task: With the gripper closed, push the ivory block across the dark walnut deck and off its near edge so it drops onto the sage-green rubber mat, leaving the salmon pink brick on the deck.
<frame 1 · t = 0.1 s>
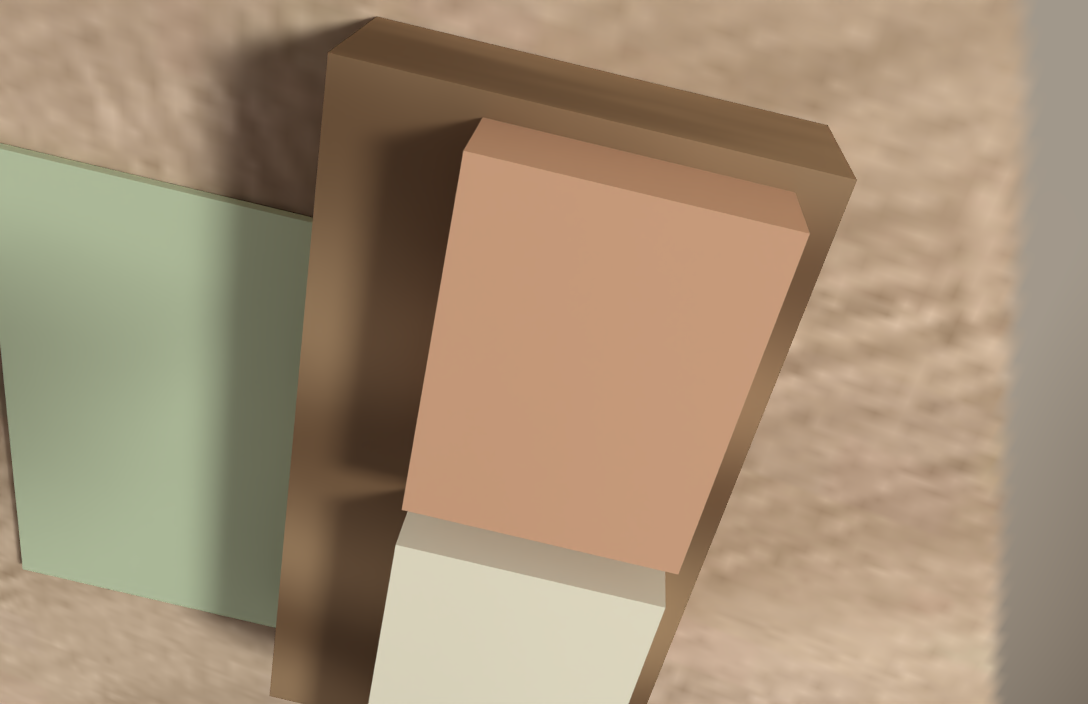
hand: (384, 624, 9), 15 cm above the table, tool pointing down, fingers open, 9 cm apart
deck: (522, 408, 25), on the table
mat: (169, 416, 26), on the table
salmon pink brick: (589, 336, 20), point 3 cm above the table, touching deck
ivory block: (508, 633, 24), point 3 cm above the table, touching deck
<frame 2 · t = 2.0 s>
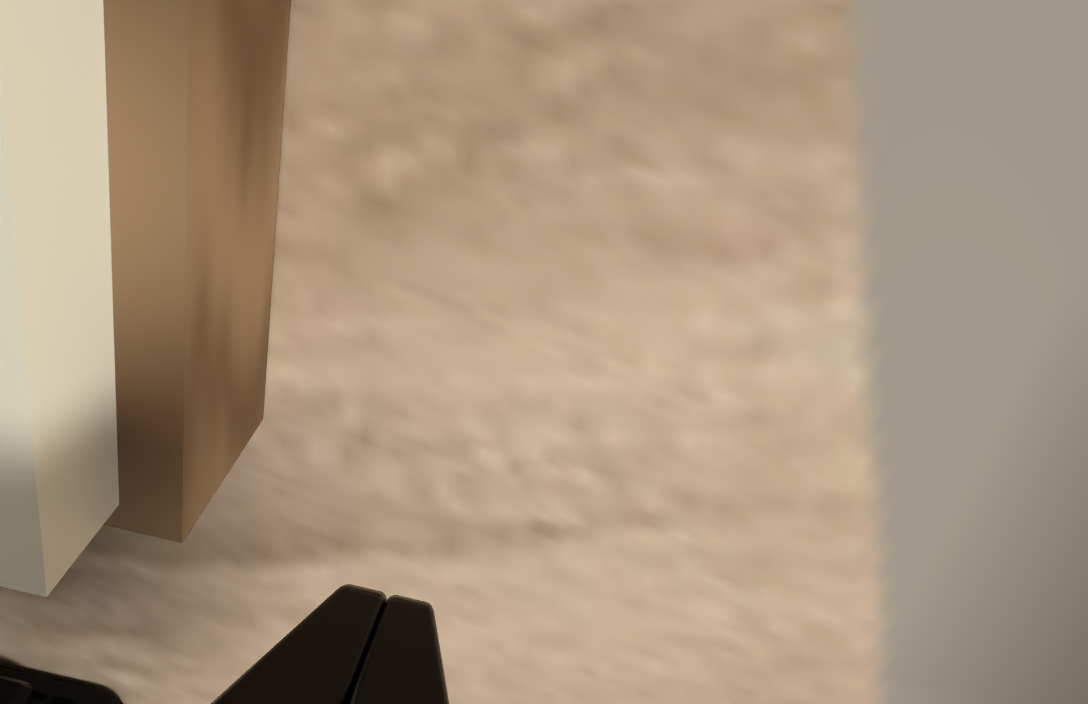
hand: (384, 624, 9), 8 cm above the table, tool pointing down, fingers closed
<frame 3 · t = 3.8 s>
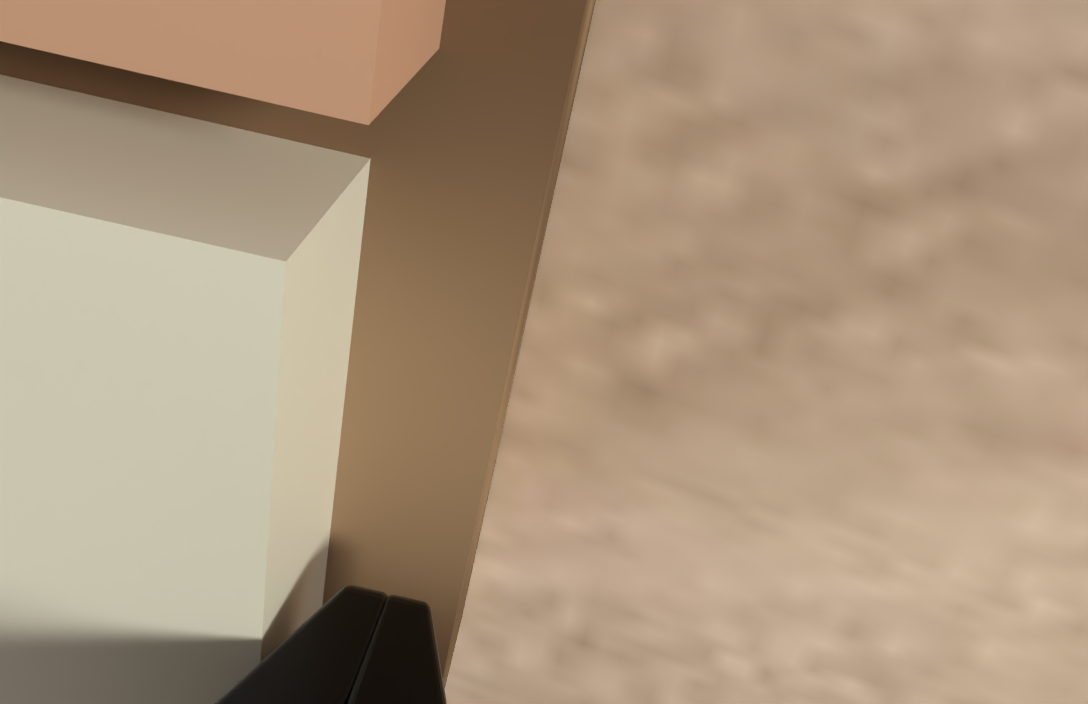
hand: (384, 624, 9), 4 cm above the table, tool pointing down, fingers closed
ivory block: (39, 467, 10), point 4 cm above the table, touching gripper
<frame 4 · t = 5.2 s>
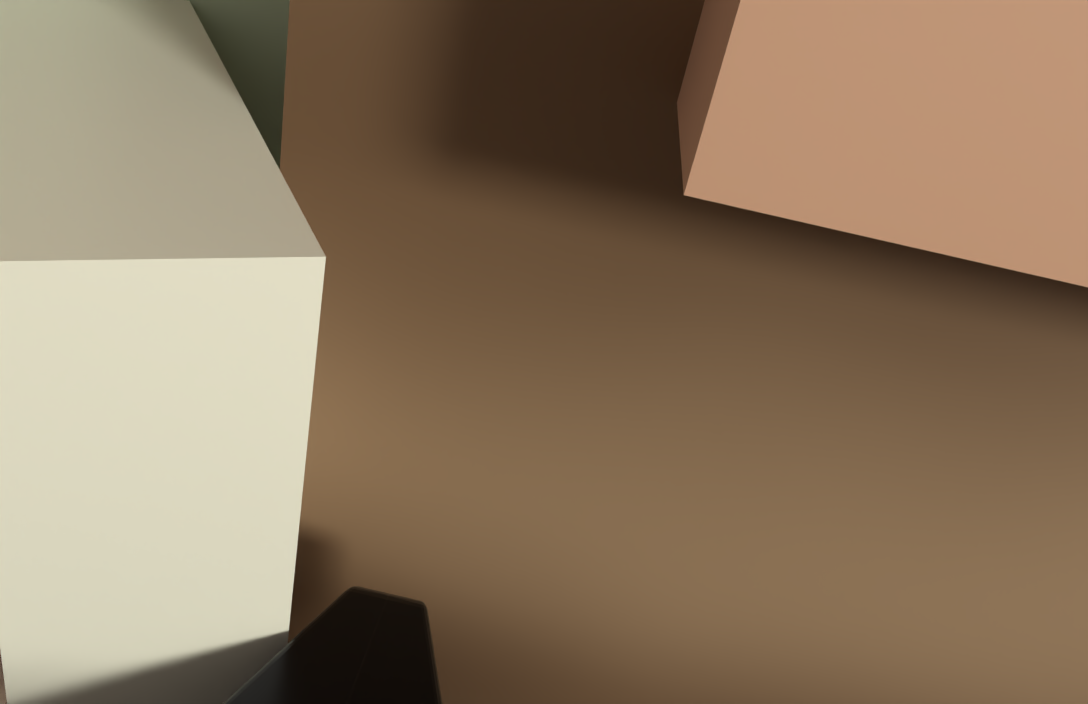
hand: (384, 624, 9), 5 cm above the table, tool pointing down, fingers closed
deck: (834, 103, 10), on the table
mat: (14, 167, 12), on the table
ivory block: (223, 458, 10), point 3 cm above the table, tilted 59°, touching gripper, mat
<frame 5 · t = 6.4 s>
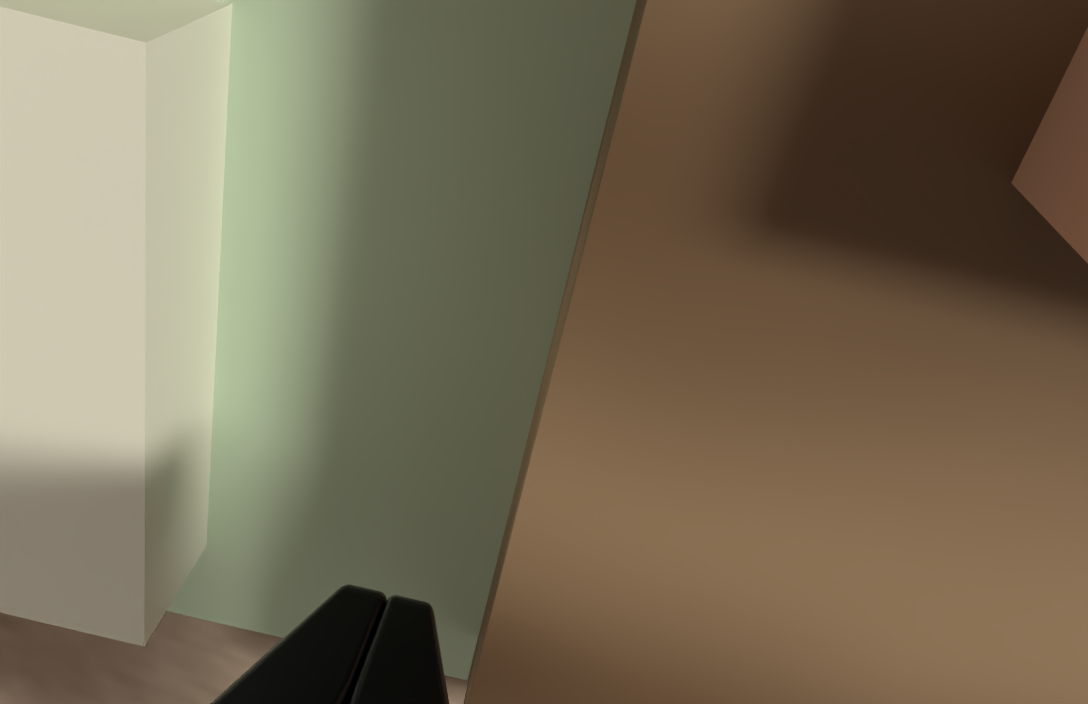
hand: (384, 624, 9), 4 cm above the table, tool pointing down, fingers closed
deck: (1063, 159, 10), on the table
mat: (212, 208, 12), on the table
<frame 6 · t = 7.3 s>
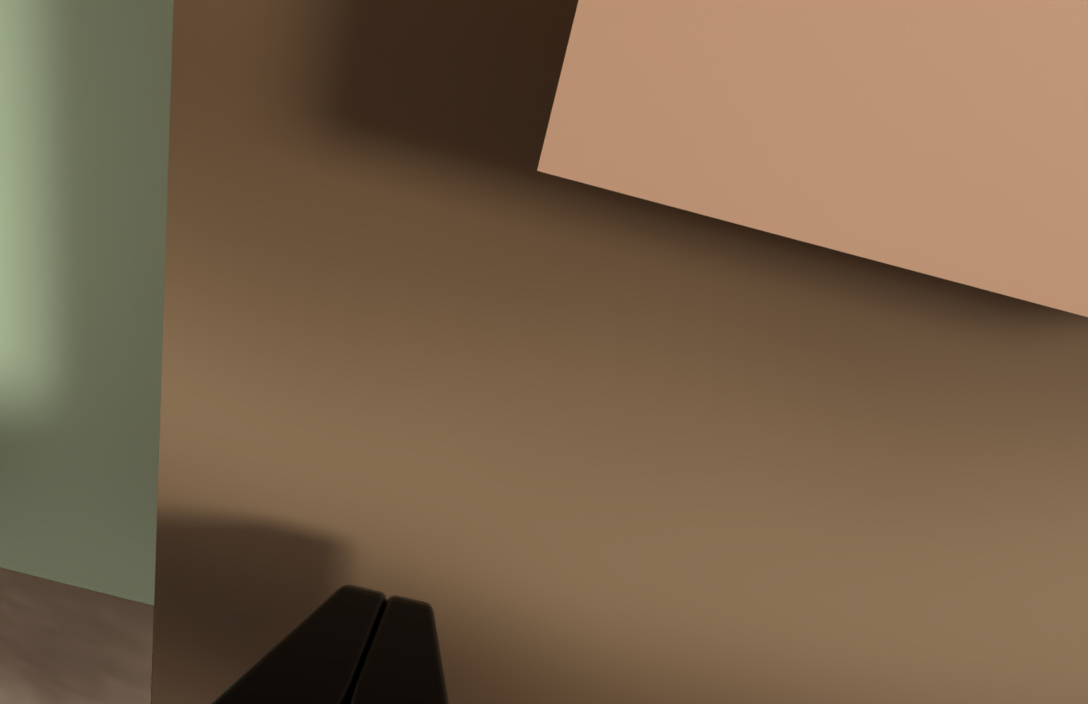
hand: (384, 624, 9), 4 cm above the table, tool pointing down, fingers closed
deck: (758, 95, 10), on the table
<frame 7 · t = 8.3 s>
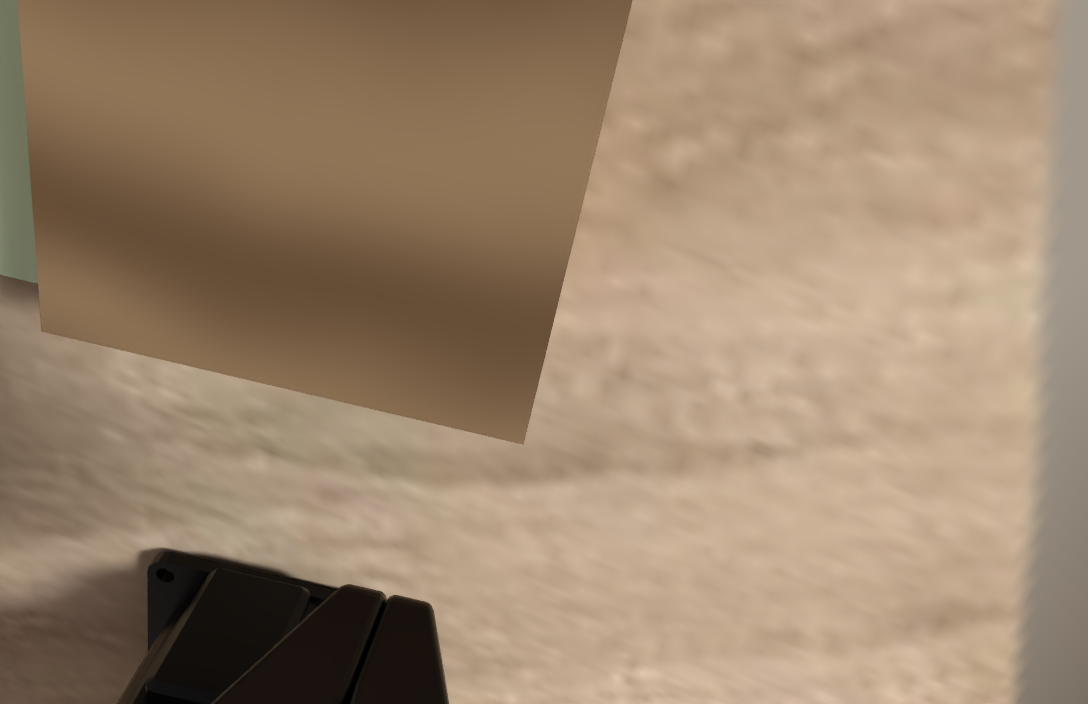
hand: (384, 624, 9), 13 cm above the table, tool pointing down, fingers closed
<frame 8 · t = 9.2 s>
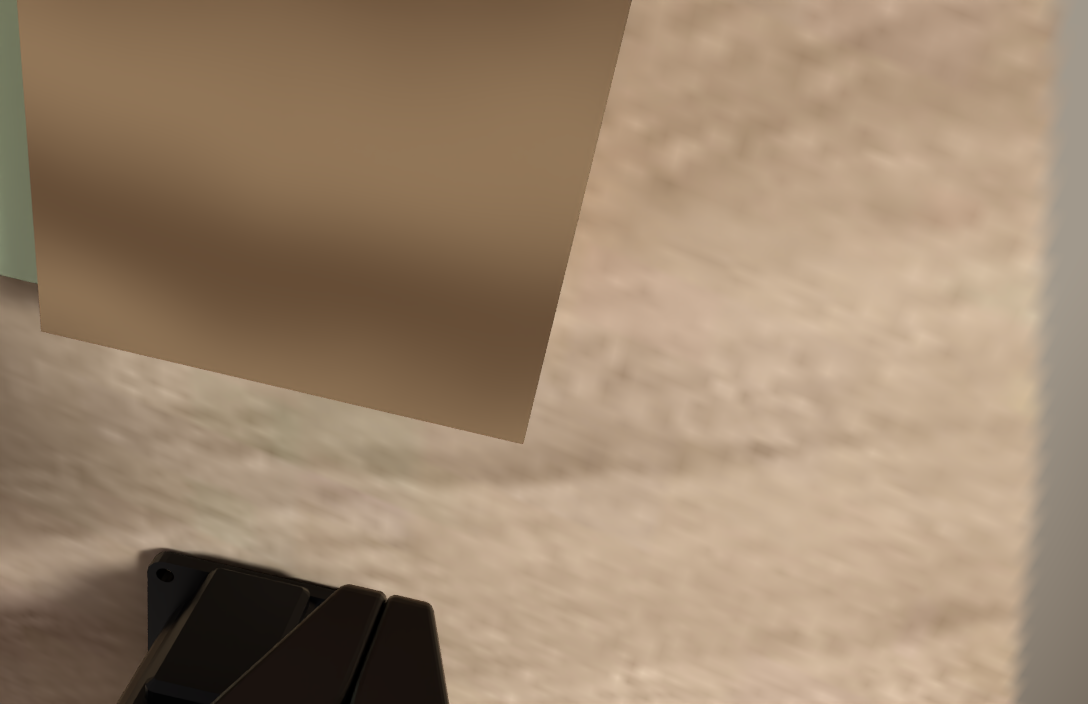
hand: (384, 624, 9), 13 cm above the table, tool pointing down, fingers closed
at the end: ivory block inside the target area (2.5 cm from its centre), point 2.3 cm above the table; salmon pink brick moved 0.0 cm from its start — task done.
